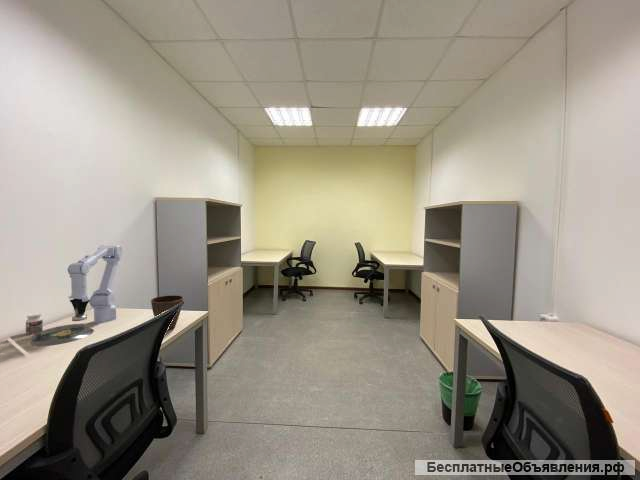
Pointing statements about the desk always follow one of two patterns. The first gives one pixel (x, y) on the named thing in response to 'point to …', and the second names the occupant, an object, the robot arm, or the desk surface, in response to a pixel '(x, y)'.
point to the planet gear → (78, 316)
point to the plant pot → (166, 306)
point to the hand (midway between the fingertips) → (79, 313)
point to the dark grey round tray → (60, 335)
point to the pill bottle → (34, 323)
